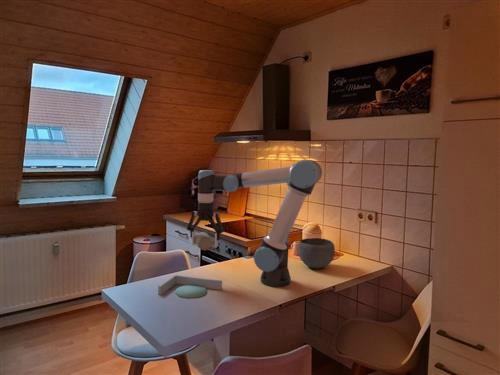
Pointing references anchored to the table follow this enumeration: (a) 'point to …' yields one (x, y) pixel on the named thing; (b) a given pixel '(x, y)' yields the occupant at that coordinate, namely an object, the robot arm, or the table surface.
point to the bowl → (316, 252)
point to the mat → (191, 291)
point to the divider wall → (199, 282)
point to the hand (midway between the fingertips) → (205, 245)
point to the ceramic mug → (204, 241)
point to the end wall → (166, 285)
